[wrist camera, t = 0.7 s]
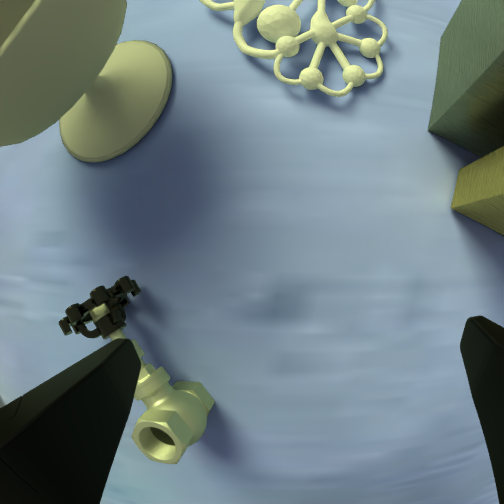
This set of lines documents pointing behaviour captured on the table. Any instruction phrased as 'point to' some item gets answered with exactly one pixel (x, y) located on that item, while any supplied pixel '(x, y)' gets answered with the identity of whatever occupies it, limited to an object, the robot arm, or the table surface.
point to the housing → (471, 78)
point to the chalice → (78, 76)
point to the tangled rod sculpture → (305, 38)
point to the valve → (146, 379)
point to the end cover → (482, 191)
